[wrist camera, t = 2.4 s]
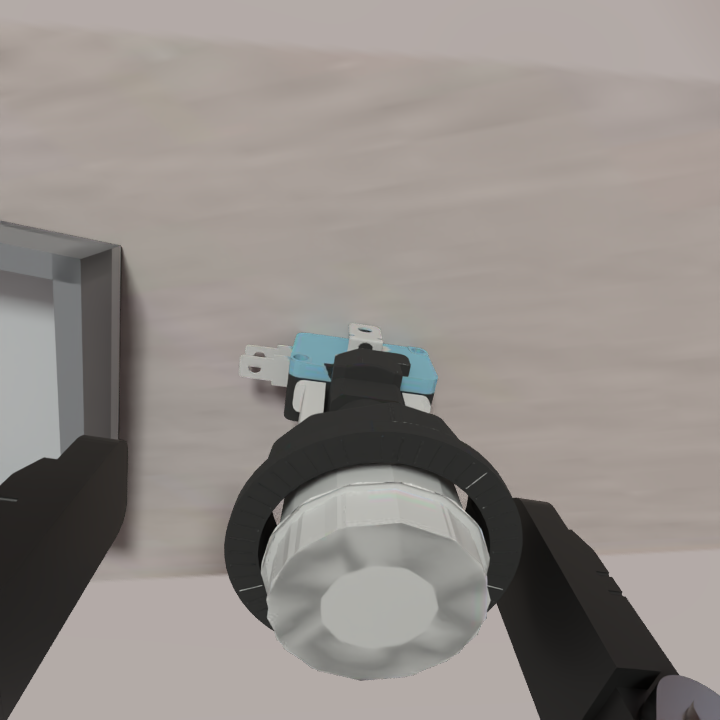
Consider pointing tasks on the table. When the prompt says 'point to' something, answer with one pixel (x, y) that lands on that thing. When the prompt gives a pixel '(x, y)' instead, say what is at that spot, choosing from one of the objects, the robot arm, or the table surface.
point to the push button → (368, 514)
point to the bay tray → (56, 343)
